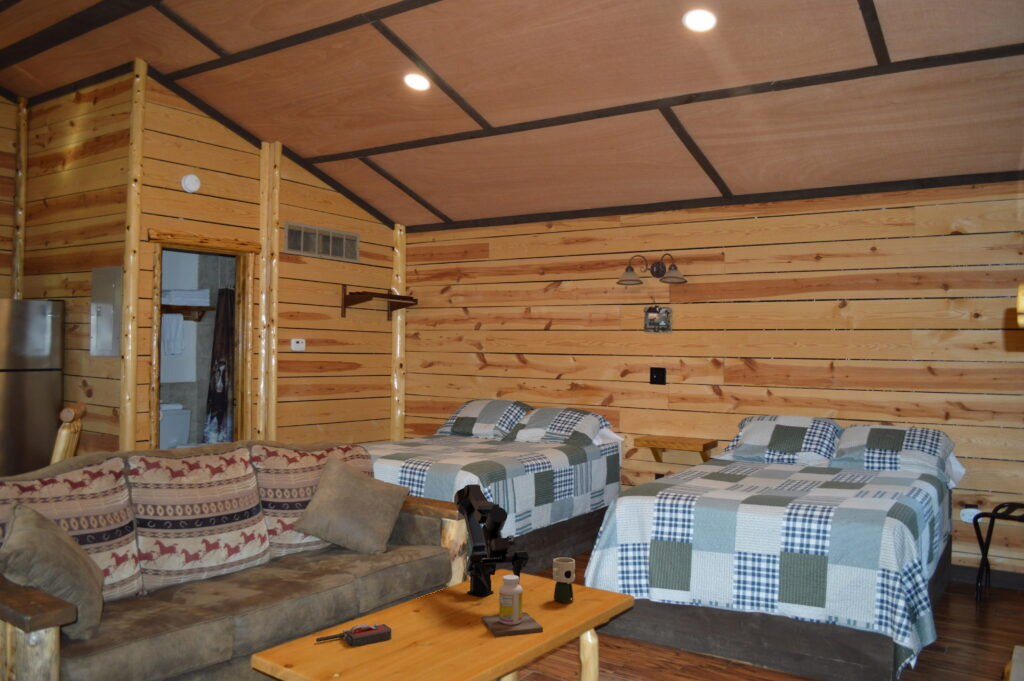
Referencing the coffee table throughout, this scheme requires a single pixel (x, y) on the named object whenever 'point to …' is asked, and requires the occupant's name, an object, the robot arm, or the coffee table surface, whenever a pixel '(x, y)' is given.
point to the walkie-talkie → (362, 635)
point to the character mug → (563, 578)
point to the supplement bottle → (510, 601)
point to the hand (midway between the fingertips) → (503, 586)
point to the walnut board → (511, 626)
